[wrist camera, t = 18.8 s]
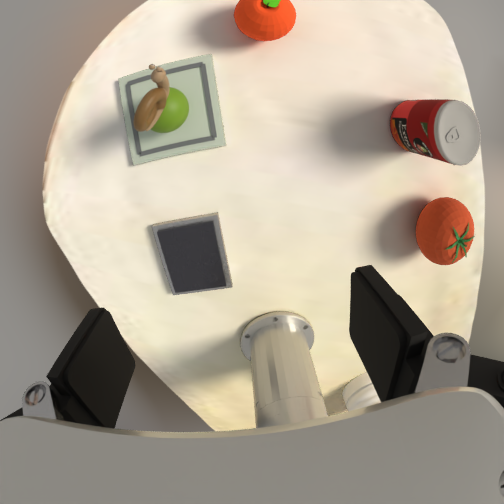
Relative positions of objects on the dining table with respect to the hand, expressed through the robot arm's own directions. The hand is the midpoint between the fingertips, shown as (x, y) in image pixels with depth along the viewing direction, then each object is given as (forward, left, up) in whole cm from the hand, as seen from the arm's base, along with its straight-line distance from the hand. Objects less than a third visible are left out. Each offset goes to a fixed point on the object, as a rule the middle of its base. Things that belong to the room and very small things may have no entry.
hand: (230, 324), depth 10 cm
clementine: (+20, -7, -27) cm, 35 cm away
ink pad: (-10, +7, -27) cm, 30 cm away
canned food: (+5, -26, -27) cm, 38 cm away
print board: (+10, +6, -27) cm, 30 cm away
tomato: (-10, -30, -27) cm, 41 cm away
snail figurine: (+10, +6, -27) cm, 29 cm away
